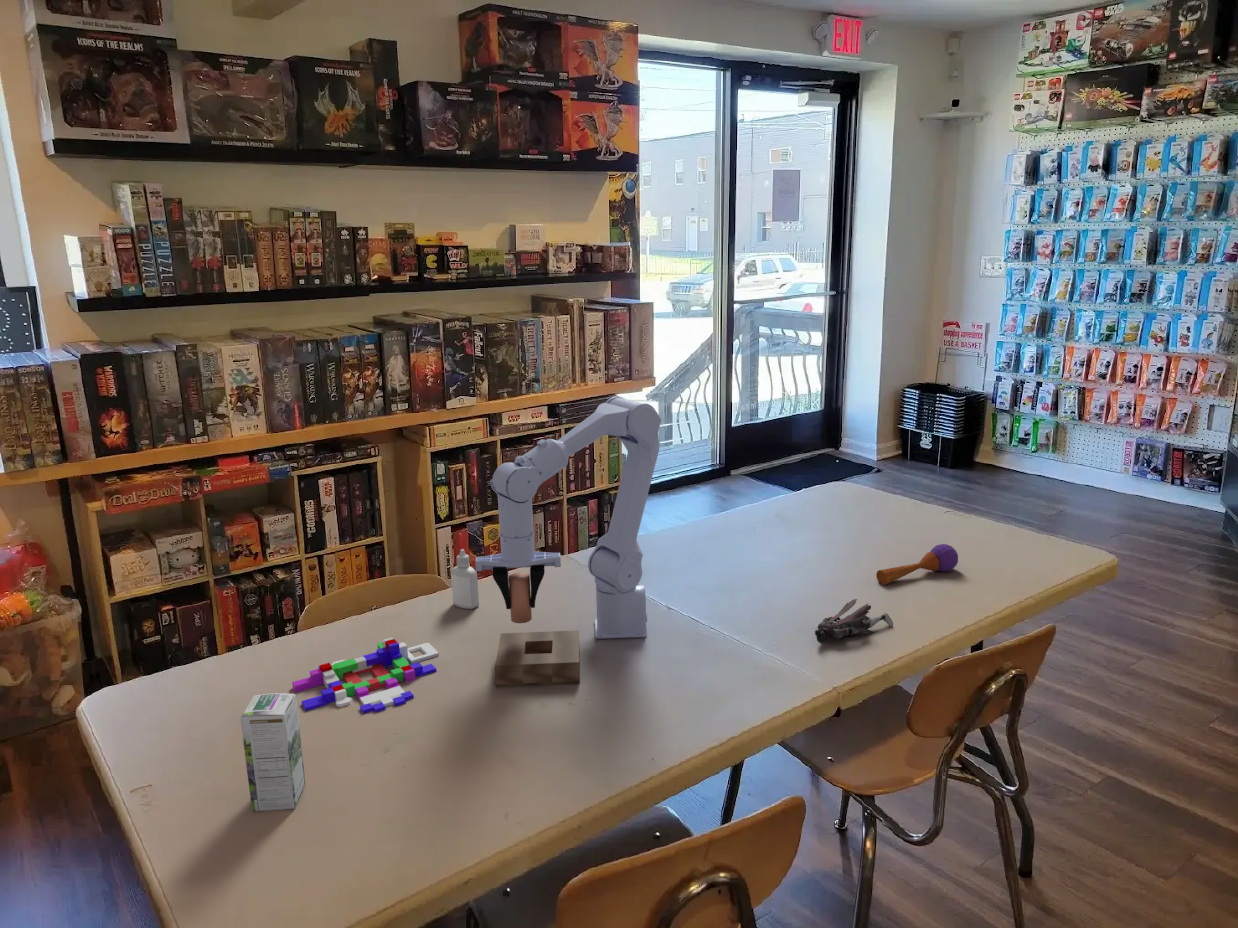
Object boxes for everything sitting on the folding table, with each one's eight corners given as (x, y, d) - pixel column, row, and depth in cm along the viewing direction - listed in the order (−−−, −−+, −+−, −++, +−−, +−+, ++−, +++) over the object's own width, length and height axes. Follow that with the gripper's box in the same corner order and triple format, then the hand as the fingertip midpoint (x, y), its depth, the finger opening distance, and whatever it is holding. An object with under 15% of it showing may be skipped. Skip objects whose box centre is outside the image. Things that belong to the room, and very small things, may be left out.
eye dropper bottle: (460, 612, 180) (456, 556, 177) (451, 602, 185) (447, 547, 182) (481, 607, 182) (477, 552, 179) (471, 597, 187) (468, 543, 184)
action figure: (861, 618, 176) (798, 642, 166) (861, 589, 175) (798, 611, 165) (895, 629, 170) (833, 655, 159) (896, 599, 169) (833, 622, 158)
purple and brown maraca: (870, 561, 192) (942, 539, 199) (874, 588, 193) (945, 565, 200) (889, 566, 186) (962, 543, 194) (893, 593, 187) (965, 569, 195)
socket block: (579, 650, 163) (578, 630, 162) (579, 683, 152) (579, 661, 151) (501, 653, 163) (500, 633, 162) (496, 686, 151) (495, 665, 150)
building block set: (318, 733, 140) (315, 707, 138) (285, 680, 156) (282, 656, 155) (467, 686, 153) (466, 662, 151) (422, 641, 169) (420, 619, 168)
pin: (531, 613, 160) (529, 571, 158) (531, 622, 157) (529, 579, 154) (511, 615, 160) (508, 573, 158) (510, 623, 156) (508, 581, 154)
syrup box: (264, 786, 126) (251, 693, 122) (307, 784, 126) (295, 691, 122) (251, 812, 120) (237, 716, 116) (297, 809, 121) (284, 713, 117)
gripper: (558, 522, 158) (561, 594, 162) (475, 527, 157) (480, 598, 161) (559, 536, 152) (562, 610, 155) (472, 540, 150) (477, 615, 154)
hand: (520, 606), depth 158 cm, fingers closed on pin, 4 cm apart
